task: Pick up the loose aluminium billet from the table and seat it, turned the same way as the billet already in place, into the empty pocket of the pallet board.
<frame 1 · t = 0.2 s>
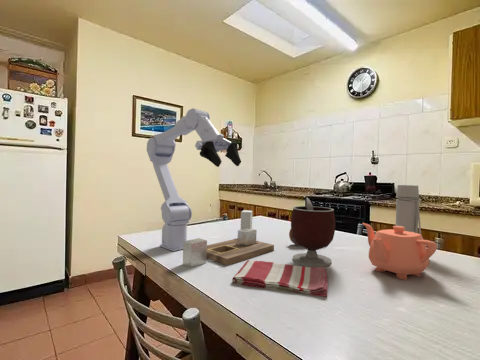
hand: (229, 164, 79), 31 cm above the table, tool tilted 45°, fingers open, 7 cm apart
skincare box: (246, 239, 115), on the table
teapot: (392, 272, 78), on the table
water bottle: (407, 253, 98), on the table
dish towel: (281, 280, 71), on the table
pallet board: (235, 252, 94), on the table
tin: (306, 245, 107), on the table
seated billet: (246, 248, 99), resting in pallet board
mate gourd: (311, 260, 87), on the table
billet: (194, 263, 81), on the table
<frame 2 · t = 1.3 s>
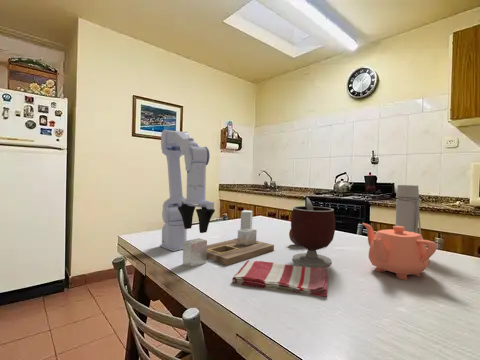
hand: (195, 230, 81), 10 cm above the table, tool pointing down, fingers open, 7 cm apart
nothing on the table moved.
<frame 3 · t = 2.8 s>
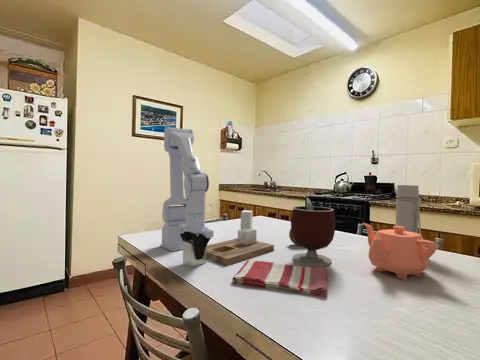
hand: (194, 257, 81), 2 cm above the table, tool pointing down, fingers closed on billet, 4 cm apart
billet: (194, 263, 81), on the table, touching gripper
everything else where it was.
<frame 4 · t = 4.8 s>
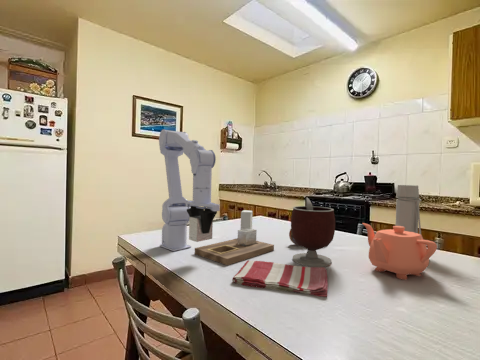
hand: (201, 231, 83), 9 cm above the table, tool pointing down, fingers closed on billet, 4 cm apart
billet: (200, 239, 83), point 7 cm above the table, touching gripper
everything else where it was.
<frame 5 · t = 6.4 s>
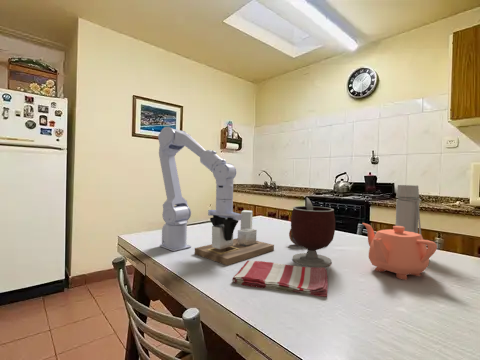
hand: (223, 239, 90), 6 cm above the table, tool pointing down, fingers closed on billet, 4 cm apart
billet: (222, 246, 90), point 3 cm above the table, touching gripper
everything else where it was.
when the fingers open (3 cm above the table, at t = 7.3 s): billet drops 1 cm, resting in pallet board.
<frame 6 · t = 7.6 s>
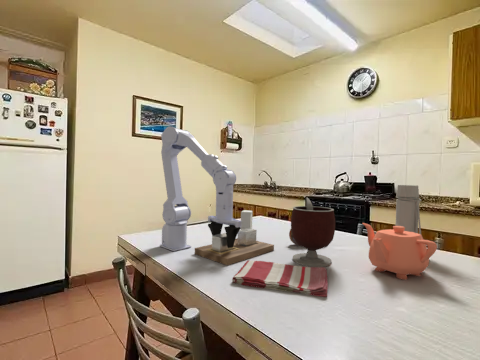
hand: (223, 245, 90), 3 cm above the table, tool pointing down, fingers open, 6 cm apart
billet: (222, 255, 90), resting in pallet board
everything else where it was.
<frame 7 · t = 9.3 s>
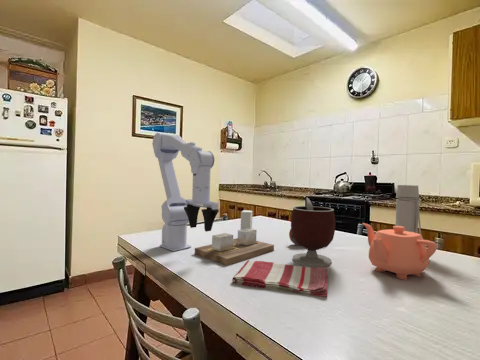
hand: (200, 229, 87), 9 cm above the table, tool pointing down, fingers open, 7 cm apart
nothing on the table moved.
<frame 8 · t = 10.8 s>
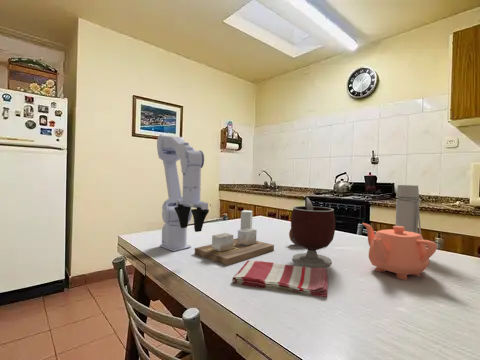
hand: (190, 229, 86), 9 cm above the table, tool pointing down, fingers open, 7 cm apart
nothing on the table moved.
at the end: billet 0.4 cm from the target spot on the pallet board, point 0.0 cm above the pallet board's base; billet tilted 0°; the gripper is holding nothing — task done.
